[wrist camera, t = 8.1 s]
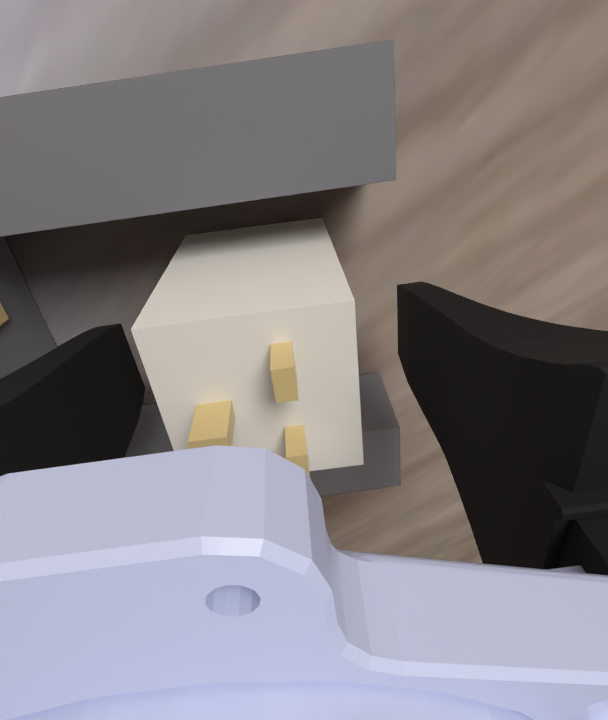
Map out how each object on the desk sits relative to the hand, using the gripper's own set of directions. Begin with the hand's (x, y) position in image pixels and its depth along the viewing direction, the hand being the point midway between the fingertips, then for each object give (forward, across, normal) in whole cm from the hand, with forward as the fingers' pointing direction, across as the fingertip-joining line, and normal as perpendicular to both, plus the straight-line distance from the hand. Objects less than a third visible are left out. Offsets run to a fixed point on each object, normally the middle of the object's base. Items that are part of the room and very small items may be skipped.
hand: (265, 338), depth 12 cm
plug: (+3, 0, 0) cm, 3 cm away
